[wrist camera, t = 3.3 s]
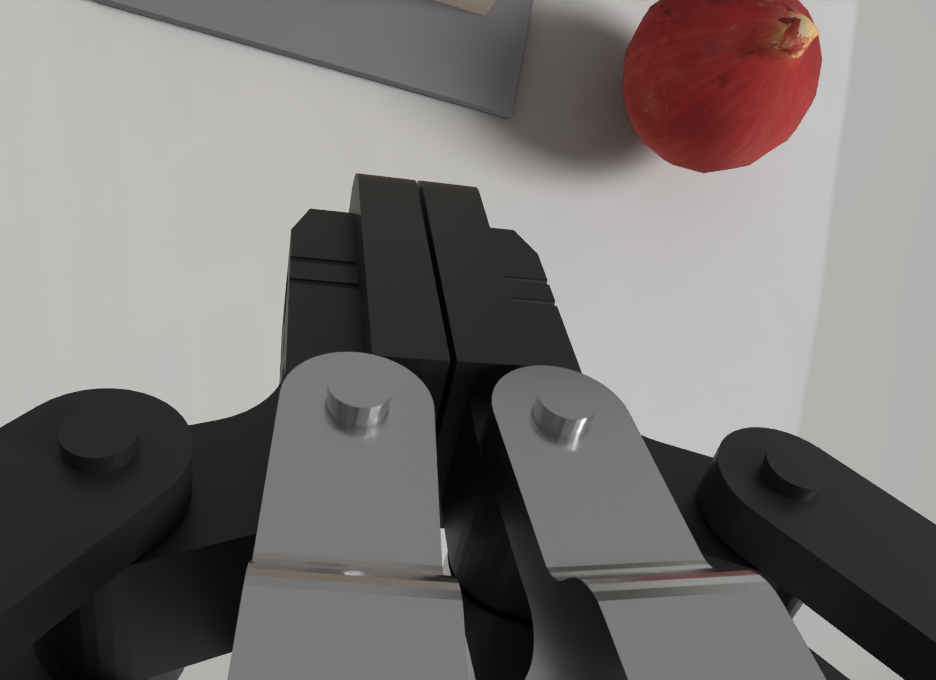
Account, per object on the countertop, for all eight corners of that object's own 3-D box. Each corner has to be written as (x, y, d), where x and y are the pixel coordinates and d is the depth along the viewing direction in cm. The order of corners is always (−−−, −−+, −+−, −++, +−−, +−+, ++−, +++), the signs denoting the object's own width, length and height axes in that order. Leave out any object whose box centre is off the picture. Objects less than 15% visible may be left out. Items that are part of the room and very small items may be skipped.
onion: (568, 36, 30) (692, -84, 22) (712, 22, 31) (875, -94, 24) (600, 203, 30) (735, 142, 22) (743, 181, 31) (915, 116, 24)
